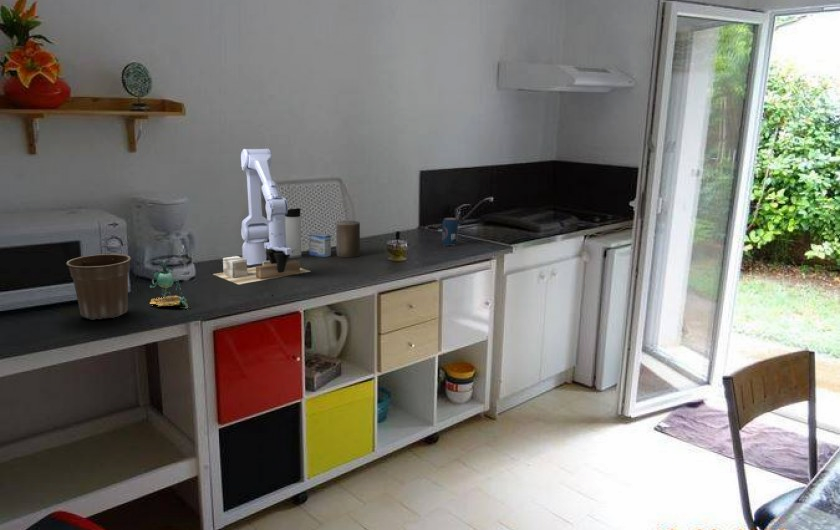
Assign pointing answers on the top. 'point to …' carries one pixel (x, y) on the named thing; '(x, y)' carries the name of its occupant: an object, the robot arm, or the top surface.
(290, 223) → the travel mug
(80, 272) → the plant pot
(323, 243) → the medicine box
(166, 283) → the frog figurine
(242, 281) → the slat board
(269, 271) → the slat
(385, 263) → the top surface
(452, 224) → the soda can
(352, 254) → the pillar candle
